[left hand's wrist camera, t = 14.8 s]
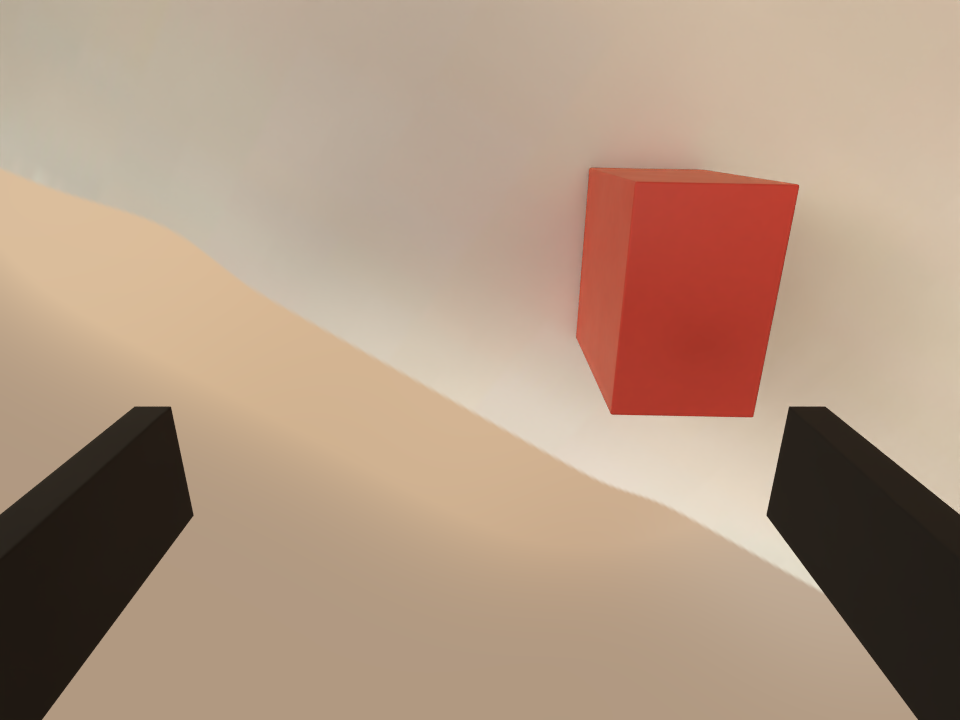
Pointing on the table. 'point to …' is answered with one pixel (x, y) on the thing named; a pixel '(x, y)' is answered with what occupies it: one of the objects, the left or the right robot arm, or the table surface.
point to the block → (681, 287)
